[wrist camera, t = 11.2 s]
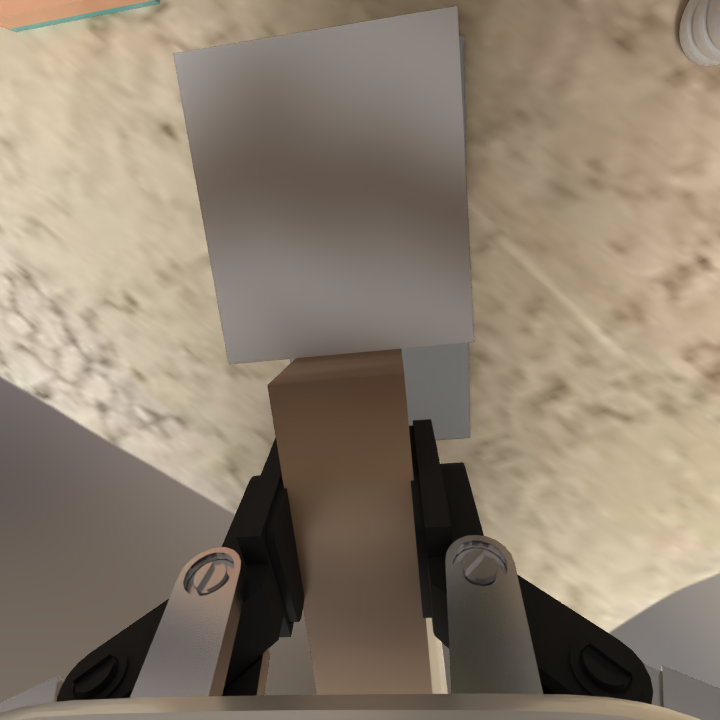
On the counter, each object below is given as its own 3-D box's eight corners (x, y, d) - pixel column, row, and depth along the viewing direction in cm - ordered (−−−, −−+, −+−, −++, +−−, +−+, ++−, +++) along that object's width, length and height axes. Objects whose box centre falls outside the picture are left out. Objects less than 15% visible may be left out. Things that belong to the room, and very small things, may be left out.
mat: (468, 433, 31) (469, 437, 30) (309, 445, 32) (308, 448, 31) (462, 37, 21) (463, 34, 20) (233, 74, 22) (230, 72, 22)
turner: (486, 671, 15) (516, 798, 11) (293, 674, 15) (264, 795, 12) (452, 25, 10) (482, -97, 7) (188, 68, 11) (95, -23, 8)
